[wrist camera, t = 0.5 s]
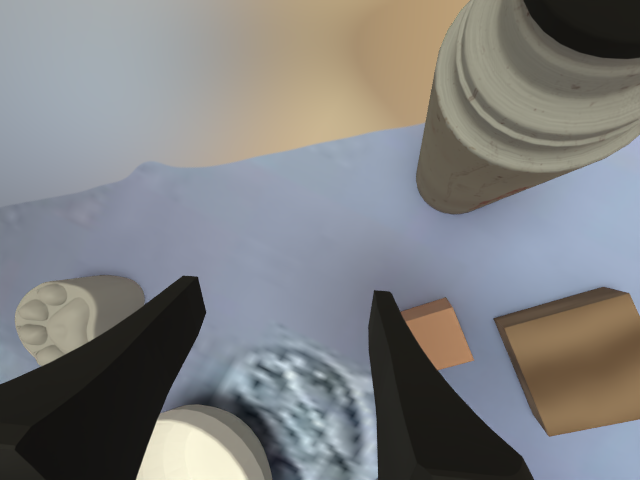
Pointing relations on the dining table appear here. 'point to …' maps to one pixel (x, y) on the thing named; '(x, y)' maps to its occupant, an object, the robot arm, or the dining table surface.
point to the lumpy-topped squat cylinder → (73, 313)
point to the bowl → (203, 447)
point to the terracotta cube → (438, 333)
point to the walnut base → (577, 359)
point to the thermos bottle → (528, 97)
